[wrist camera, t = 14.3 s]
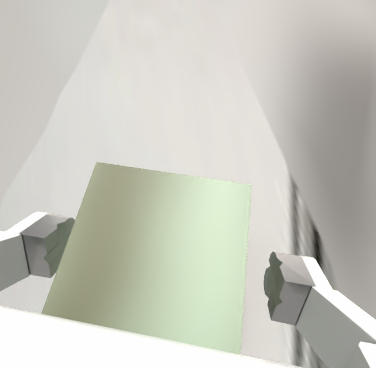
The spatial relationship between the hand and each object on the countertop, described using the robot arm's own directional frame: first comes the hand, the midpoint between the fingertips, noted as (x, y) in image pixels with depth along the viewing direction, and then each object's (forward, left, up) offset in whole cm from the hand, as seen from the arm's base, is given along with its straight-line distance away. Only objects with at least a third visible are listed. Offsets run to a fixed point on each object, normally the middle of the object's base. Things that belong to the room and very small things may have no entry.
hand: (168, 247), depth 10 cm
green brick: (0, +1, -7) cm, 7 cm away
